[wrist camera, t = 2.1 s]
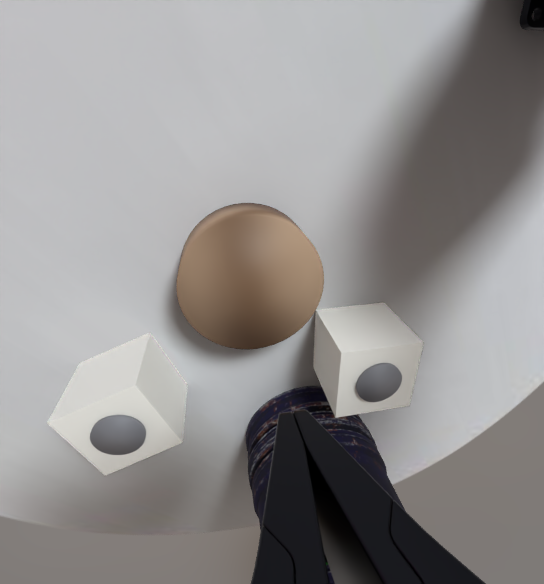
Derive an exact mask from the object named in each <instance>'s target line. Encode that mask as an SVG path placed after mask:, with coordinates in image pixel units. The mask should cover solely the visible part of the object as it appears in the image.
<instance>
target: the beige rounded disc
mask: <svg viewBox="0 0 544 584" xmlns="http://www.w3.org/2000/svg"><path fill="white" fill-rule="evenodd" d="M323 285H324V272H323V267H322V263H321V260H320V257H319V255H318V253H317V251H316V249H315V247H314V246H313V244H312V243H311V242H310V240H309V239H308V238H307V237H306V236H305V234H304V233H303V232H302V231H301V230H300V228H299V227H298V226H297V225H296V224H295V223H294V222H293V221H292V220H291V219H290V218H289V217H288V216H286V215H285V214H283V213H282V212H280V211H278V210H276V209H274V208H272V207H269V206H265V205H262V204H255V203H240V204H233V205H230V206H226V207H223V208H221V209H218V210H216V211H214V212H213V213H211V214H209V215H208V216H206V217H205V218H204V219H203V220H202V221H200V222H199V223H198V225H197V226H196V227H195V228H194V229H193V231H192V232H191V233H190V235H189V237H188V239H187V241H186V242H185V245H184V248H183V251H182V256H181V261H180V266H179V271H178V276H177V288H176V289H177V297H178V301H179V305H180V308H181V310H182V312H183V314H184V316H185V317H186V319H187V321H188V322H189V323H190V324H191V326H192V327H193V328H194V329H195V330H196V331H197V332H199V333H200V334H201V335H202V336H204V337H205V338H207V339H209V340H210V341H212V342H214V343H217V344H220V345H222V346H226V347H230V348H236V349H257V348H263V347H267V346H270V345H274V344H276V343H279V342H281V341H283V340H285V339H287V338H289V337H290V336H292V335H293V334H295V333H296V332H297V331H298V330H300V329H301V328H302V327H303V326H304V325H305V324H306V323H307V322H308V320H309V319H310V318H311V316H312V315H313V314H314V312H315V310H316V308H317V306H318V304H319V302H320V299H321V296H322V292H323Z"/></svg>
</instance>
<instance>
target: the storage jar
mask: <svg viewBox="0 0 544 584" xmlns="http://www.w3.org/2000/svg"><path fill="white" fill-rule="evenodd" d="M303 409H305V410H307V411H308V412H309V413H310V414H311V415H312V416H313V417H314V418H315V419H316V420H317V421H318V422H319V423H320V424H321V425H322V426H323V427H324V428H325V429H326V430H327V431H328V432H329V433H330V434H331V435H332V436H333V437H334V438H335V439H336V440H337V441H338V443H339V444H340V445H341V446H342V447H343V448H344V449H345V450H346V451H347V452H348V453H349V454H350V455H351V456H352V457H353V458H354V459H355V460H356V461H357V462H358V463H359V464H360V465H361V466H362V467H363V468H364V469H365V470H366V471H367V472H368V473H369V474H370V476H371V477H372V478H373V479H374V480H375V481H376V482H377V483H378V484H379V485H380V486H381V487H382V488H383V489H384V490H385V491H386V492H387V493H388V494H389V495H390V496H391V497H392V501H393V500H395V501H396V502H397V503H398V504H399V505H400V506H401V507H402V508H403V509H404V507H403V505H402V503H401V501H400V500H399V498H398V496H397V494H396V492H395V490H394V488H393V486H392V484H391V482H390V480H389V478H388V476H387V472H386V466H385V464H384V461H383V459H382V457H381V456H380V453H379V452H378V450H377V446H376V444H375V441H374V439H373V438H372V436H371V434H370V432H369V430H368V428H367V427H366V426H365V424H364V423H363V422H362V420H361V418H360V417H359V416H358V414H356V415H350V416H344V417H338V418H335V416H334V413H333V411H332V409H331V406H330V404H329V402H328V400H327V397H326V395H325V393H324V391H323V388H322V387H318V386H310V387H302V388H296V389H293V390H290V391H287V392H284V393H282V394H280V395H278V396H276V397H274V398H272V399H271V400H269V401H268V402H267V403H265V404H264V405H263V406H262V407H261V408H260V409H259V410H258V411H257V412H256V413H255V414H254V416H253V417H252V419H251V420H250V422H249V425H248V427H247V431H246V445H247V451H248V474H249V482H250V487H251V490H252V494H253V502H254V508H255V512H256V514H257V516H258V518H259V521H260V529H261V528H262V521H263V515H264V508H265V502H266V495H267V488H268V482H269V475H270V468H271V462H272V455H273V449H274V442H275V435H276V429H277V422H278V416H279V414H280V413H284V412H292V413H293V412H294V411H297V410H303ZM404 510H405V509H404ZM405 512H406V511H405ZM324 555H325V552H324ZM325 560H326V566H327V572H328V577H329V583H330V584H335V582H334V579H333V576H332V573H331V570H330V567H329V564H328V561H327V558H326V555H325Z"/></svg>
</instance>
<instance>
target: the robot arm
mask: <svg viewBox="0 0 544 584" xmlns="http://www.w3.org/2000/svg"><path fill="white" fill-rule="evenodd" d="M533 11H534V18H533V20H532V13H533ZM520 25H521V27H522V28H523V29H525V30H544V0H524V4H523V8H522V12H521V16H520ZM324 552H325V555H326V558H327V561H328V564H329V567H330V570H331V573H332V576H333V579H334V582H335V584H486V583H484V582H483V581H482V580H481V579H480V578H479V577H477V576H476V575H475V574H474V573H473V572H471V571H470V570H469V569H468V568H467V567H466V566H465V565H463V564H462V563H461V562H460V561H459V560H458V559H456V558H455V557H454V556H453V555H452V554H450V553H449V552H448V551H447V550H446V549H445V548H444V547H443V546H441V545H440V544H439V543H438V542H437V541H436V540H435V539H434V538H432V536H430V535H429V534H428V533H427V532H426V531H425V530H424V529H423V528H421V526H420V525H419V524H418V523H417V522H416V521H415V520H413V518H412V517H410V516H409V514H407V513H406V512H405V510H404V509H403V508H402V507H401V506H400V505H399V504H398V503H397V502H396V501H395V500H393V501H392V497H391V496H390V495H389V494H388V493H387V492H386V491H385V490H384V489H383V488H382V487H381V486H380V485H379V484H378V483H377V482H376V481H375V480H374V479H373V478H372V477H371V476H370V474H369V473H368V472H367V471H366V470H365V469H364V468H363V467H362V466H361V465H360V464H359V463H358V462H357V461H356V460H355V459H354V458H353V457H352V456H351V455H350V454H349V453H348V452H347V451H346V450H345V449H344V448H343V447H342V446H341V445H340V444H339V443H338V441H337V440H336V439H335V438H334V437H333V436H332V435H331V434H330V433H329V432H328V431H327V430H326V429H325V428H324V427H323V426H322V425H321V424H320V423H319V422H318V421H317V420H316V419H315V418H314V417H313V416H312V415H311V414H310V413H309V412H308V411H307V410H305V409H303V410H297V411H294V412H293V413H292V412H284V413H280V414H279V416H278V422H277V429H276V435H275V442H274V449H273V455H272V462H271V468H270V475H269V482H268V488H267V495H266V502H265V508H264V515H263V521H262V528H261V534H260V540H259V547H258V552H257V557H256V563H255V568H254V573H253V577H252V581H251V584H330V583H329V577H328V572H327V566H326V560H325V555H324Z"/></svg>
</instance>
